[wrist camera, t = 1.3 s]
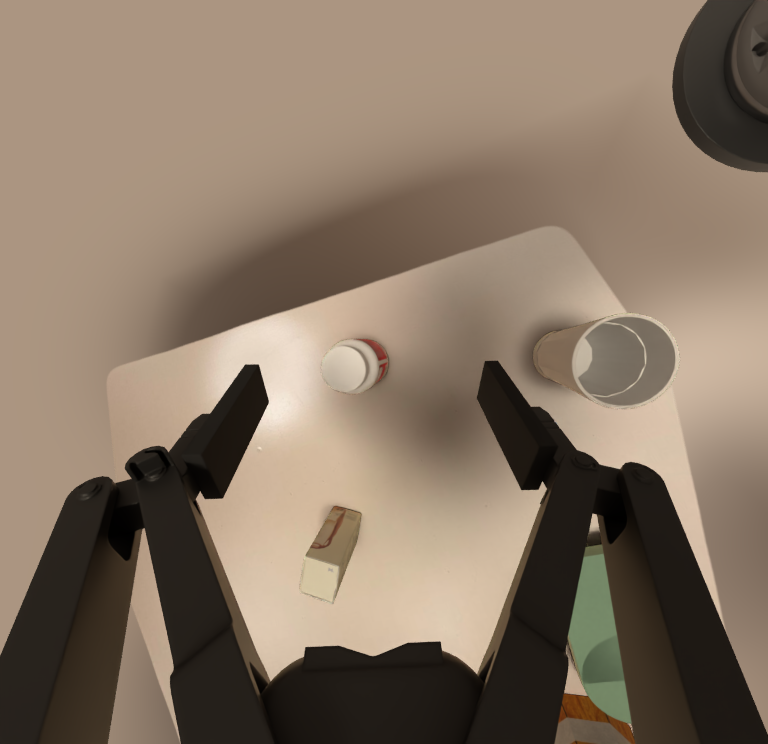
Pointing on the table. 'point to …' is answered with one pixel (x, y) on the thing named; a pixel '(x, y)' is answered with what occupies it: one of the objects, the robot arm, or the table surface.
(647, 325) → the cup
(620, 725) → the mug
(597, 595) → the green rounded-end slab
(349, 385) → the pill bottle
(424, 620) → the table surface
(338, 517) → the small juice carton
